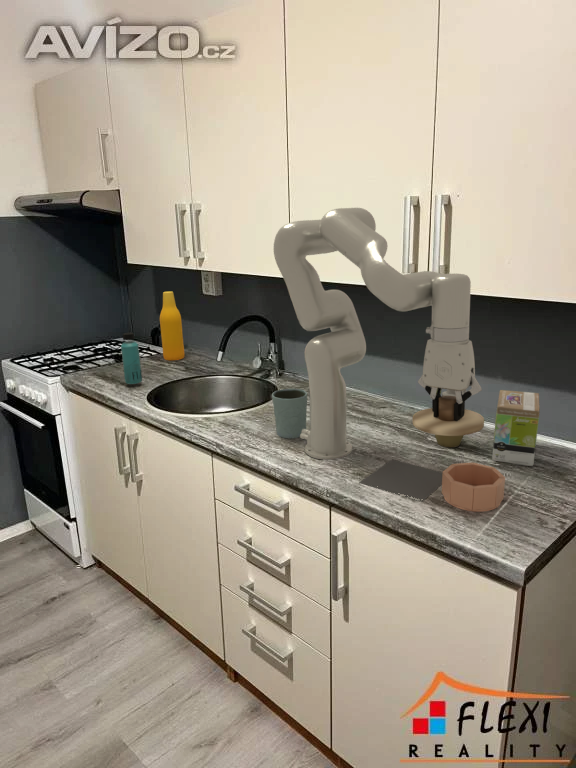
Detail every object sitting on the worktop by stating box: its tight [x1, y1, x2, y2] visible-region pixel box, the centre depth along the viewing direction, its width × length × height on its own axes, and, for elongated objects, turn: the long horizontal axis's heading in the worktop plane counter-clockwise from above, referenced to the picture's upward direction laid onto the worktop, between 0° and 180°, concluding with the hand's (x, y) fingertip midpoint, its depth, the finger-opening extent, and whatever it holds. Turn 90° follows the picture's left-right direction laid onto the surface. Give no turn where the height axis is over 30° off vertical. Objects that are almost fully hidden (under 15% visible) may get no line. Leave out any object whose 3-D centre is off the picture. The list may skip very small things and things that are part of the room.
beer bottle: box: [159, 291, 185, 362], centre depth 254 cm, size 9×9×29 cm
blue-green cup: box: [271, 388, 308, 439], centre depth 168 cm, size 10×10×12 cm
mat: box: [359, 458, 443, 502], centre depth 138 cm, size 16×16×1 cm
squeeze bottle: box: [434, 389, 465, 449], centre depth 155 cm, size 8×8×18 cm
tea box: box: [491, 389, 541, 467], centre depth 149 cm, size 15×10×15 cm, turn 158°
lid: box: [412, 395, 485, 436], centre depth 127 cm, size 15×15×6 cm
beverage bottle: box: [120, 332, 143, 385], centre depth 217 cm, size 6×7×20 cm
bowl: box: [441, 461, 506, 513], centre depth 128 cm, size 12×12×6 cm
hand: (448, 416), depth 127 cm, fingers closed on lid, 4 cm apart
